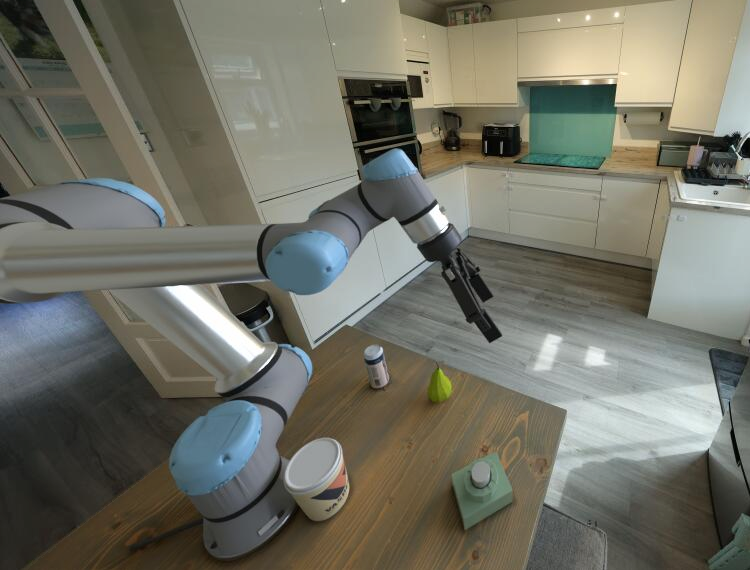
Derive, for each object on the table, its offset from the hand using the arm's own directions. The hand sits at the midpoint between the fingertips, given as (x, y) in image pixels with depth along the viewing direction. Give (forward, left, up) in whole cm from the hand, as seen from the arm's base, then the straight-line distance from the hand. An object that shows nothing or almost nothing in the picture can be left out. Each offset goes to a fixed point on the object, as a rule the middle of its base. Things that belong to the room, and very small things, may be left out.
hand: (491, 316), depth 63 cm
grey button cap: (-8, -13, -27) cm, 31 cm away
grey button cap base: (-8, -13, -33) cm, 36 cm away
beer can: (-24, +24, -33) cm, 48 cm away
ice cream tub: (-36, 0, -33) cm, 49 cm away
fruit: (-10, +12, -33) cm, 37 cm away
